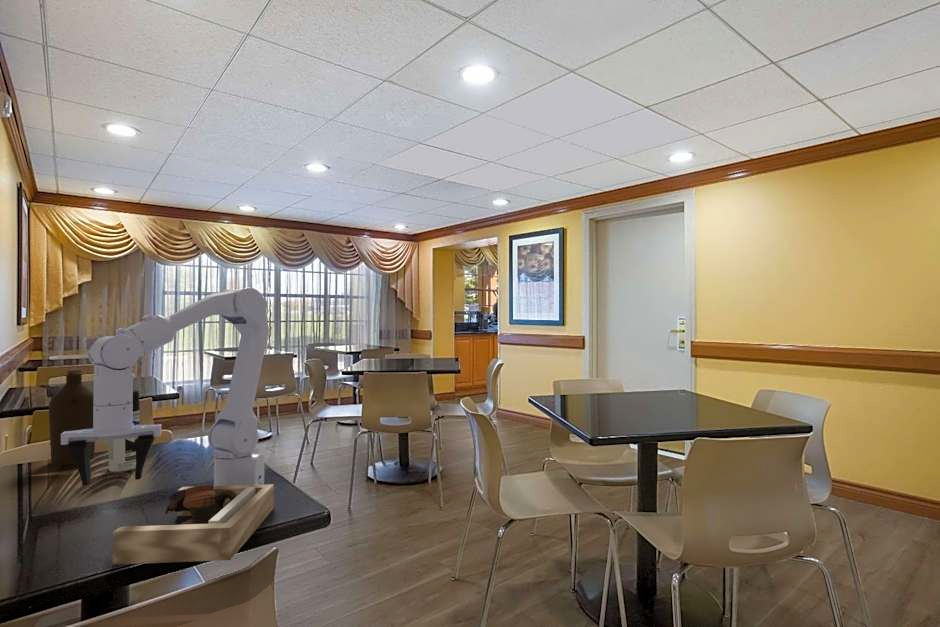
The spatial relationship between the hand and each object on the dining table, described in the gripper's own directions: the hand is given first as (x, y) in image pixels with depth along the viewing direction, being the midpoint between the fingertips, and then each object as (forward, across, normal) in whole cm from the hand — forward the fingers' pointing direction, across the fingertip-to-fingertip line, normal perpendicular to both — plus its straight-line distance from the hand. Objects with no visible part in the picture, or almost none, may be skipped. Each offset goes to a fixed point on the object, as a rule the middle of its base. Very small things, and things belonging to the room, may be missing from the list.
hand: (112, 481), depth 90 cm
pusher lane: (+9, -12, +6) cm, 16 cm away
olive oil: (+10, +21, -64) cm, 68 cm away
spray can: (+10, +7, -48) cm, 50 cm away
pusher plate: (+9, -18, +8) cm, 22 cm away
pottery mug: (+10, -15, +4) cm, 19 cm away
